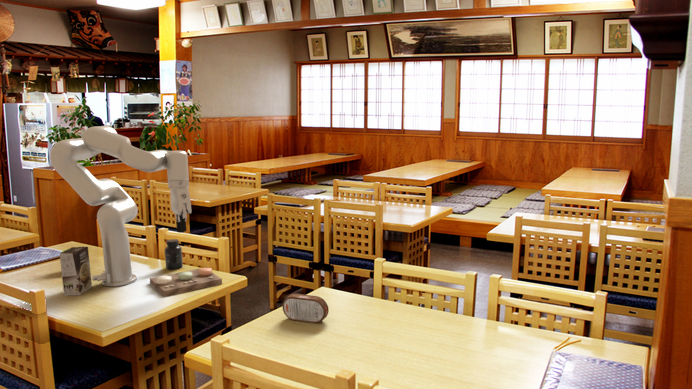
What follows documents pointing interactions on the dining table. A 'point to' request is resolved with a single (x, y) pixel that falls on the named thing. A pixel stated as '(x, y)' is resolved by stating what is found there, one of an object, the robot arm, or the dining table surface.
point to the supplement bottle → (173, 255)
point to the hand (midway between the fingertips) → (181, 231)
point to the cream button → (164, 280)
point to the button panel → (186, 283)
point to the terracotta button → (205, 271)
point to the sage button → (185, 276)
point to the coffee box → (75, 270)
